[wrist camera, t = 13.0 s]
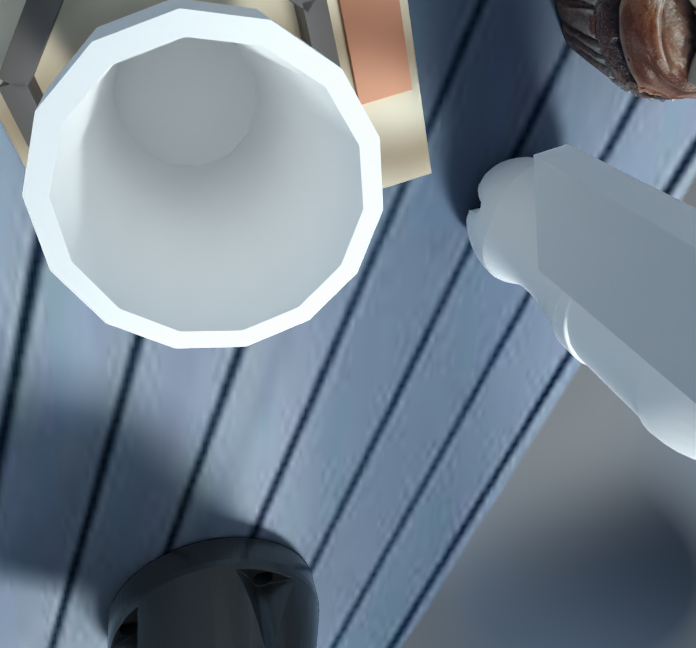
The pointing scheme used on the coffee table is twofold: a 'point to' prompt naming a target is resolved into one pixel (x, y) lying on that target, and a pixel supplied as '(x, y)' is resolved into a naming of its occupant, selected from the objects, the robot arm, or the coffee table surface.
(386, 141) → the socket board
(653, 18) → the cupcake
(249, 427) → the coffee table surface
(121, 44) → the foam cup
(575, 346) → the water bottle
